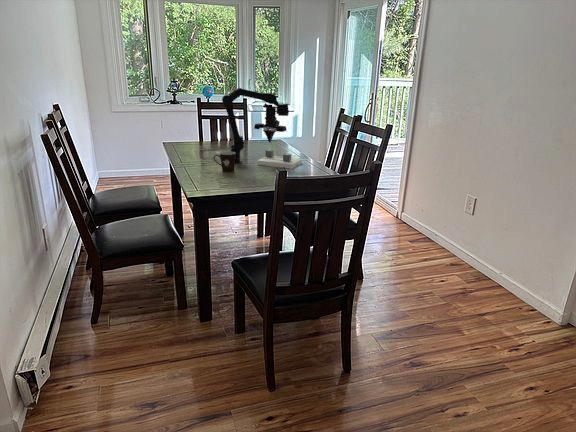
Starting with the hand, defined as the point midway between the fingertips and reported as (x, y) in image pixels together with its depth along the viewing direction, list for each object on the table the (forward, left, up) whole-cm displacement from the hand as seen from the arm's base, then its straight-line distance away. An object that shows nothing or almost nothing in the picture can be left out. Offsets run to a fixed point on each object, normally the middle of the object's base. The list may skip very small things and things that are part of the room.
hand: (269, 142), depth 257 cm
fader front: (-3, -13, -9) cm, 16 cm away
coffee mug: (-31, +12, -12) cm, 36 cm away
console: (-2, -8, -12) cm, 14 cm away
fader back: (+3, +1, -9) cm, 10 cm away
